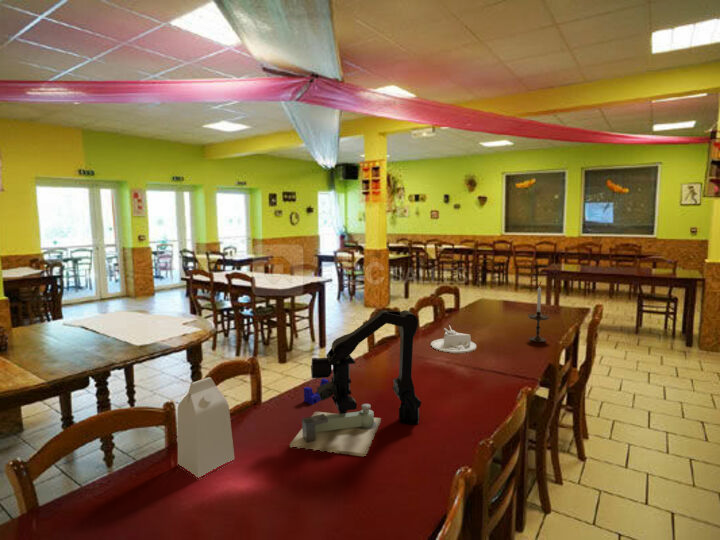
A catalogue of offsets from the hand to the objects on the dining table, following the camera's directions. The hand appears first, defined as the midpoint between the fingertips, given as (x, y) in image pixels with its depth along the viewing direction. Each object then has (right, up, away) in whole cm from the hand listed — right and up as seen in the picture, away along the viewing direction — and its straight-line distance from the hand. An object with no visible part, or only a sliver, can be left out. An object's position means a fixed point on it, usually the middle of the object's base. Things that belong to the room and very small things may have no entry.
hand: (342, 418), depth 152 cm
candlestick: (+109, +11, +100) cm, 149 cm away
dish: (+59, +9, +91) cm, 109 cm away
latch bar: (+1, -2, -2) cm, 3 cm away
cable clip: (-11, -1, +25) cm, 27 cm away
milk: (-40, -7, -21) cm, 46 cm away
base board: (-1, -4, -4) cm, 6 cm away
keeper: (-8, -3, -9) cm, 13 cm away
